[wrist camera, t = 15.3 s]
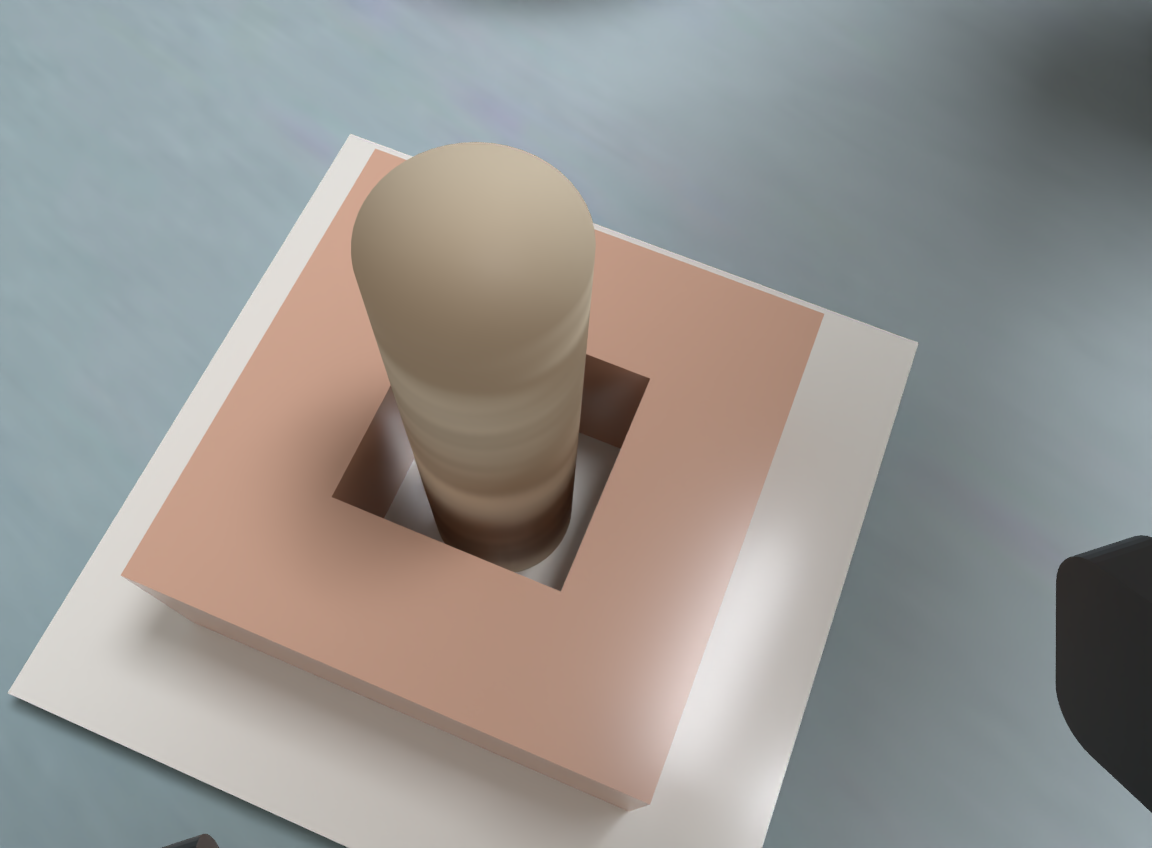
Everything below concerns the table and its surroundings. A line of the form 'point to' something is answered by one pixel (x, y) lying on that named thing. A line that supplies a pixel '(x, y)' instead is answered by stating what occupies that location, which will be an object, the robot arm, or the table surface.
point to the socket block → (487, 569)
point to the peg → (483, 337)
